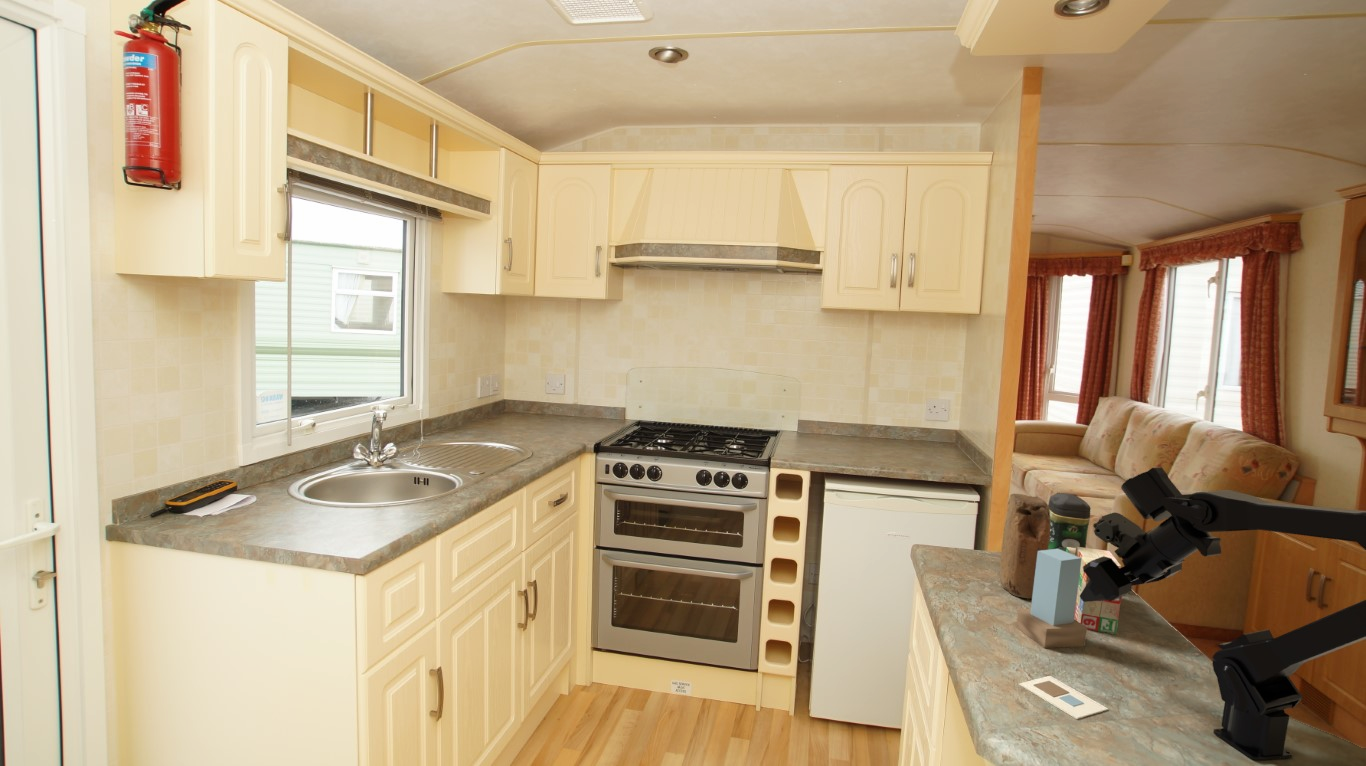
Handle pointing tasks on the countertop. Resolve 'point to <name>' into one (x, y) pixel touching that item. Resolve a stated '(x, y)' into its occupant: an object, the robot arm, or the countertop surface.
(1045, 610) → the blue brick
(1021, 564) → the block
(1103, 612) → the stack of blocks
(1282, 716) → the robot arm
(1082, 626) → the walnut base
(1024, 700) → the countertop surface
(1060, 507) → the coffee jar
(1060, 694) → the page
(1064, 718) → the countertop surface
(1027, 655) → the countertop surface
